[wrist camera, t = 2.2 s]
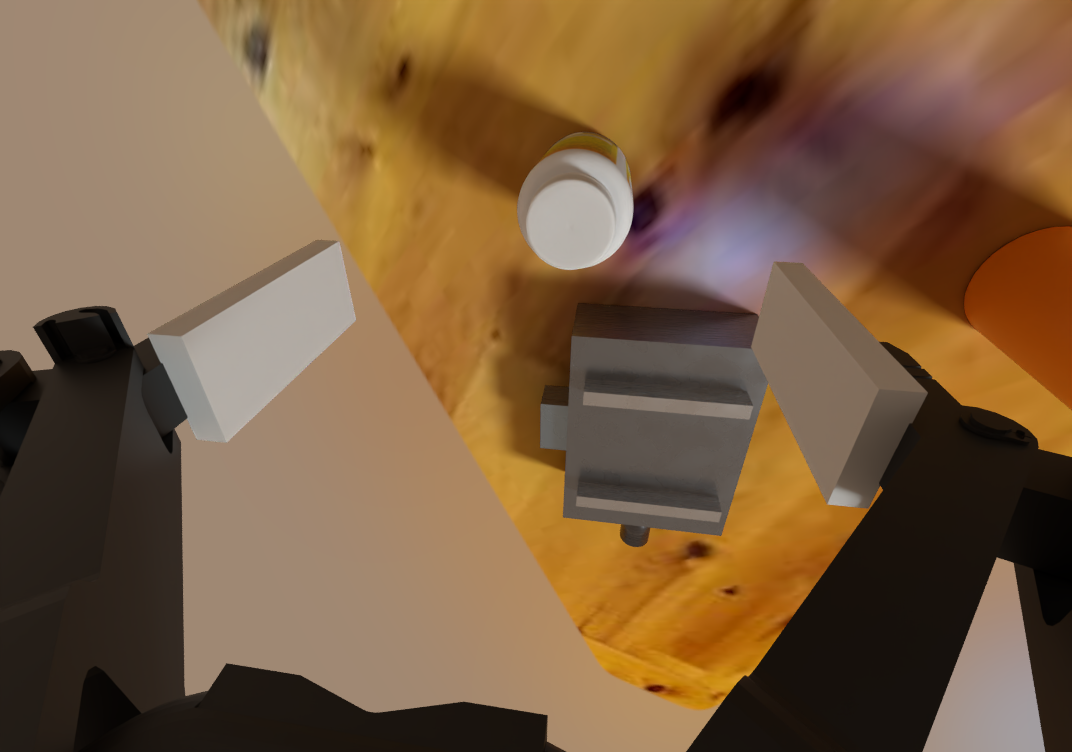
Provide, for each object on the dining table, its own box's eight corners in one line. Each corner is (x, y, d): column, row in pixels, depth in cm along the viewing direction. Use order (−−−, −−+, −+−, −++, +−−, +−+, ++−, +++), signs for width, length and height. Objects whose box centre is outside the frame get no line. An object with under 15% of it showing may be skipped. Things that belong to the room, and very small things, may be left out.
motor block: (549, 301, 34) (535, 345, 29) (757, 314, 32) (785, 363, 27) (545, 503, 45) (534, 562, 39) (702, 521, 43) (713, 586, 38)
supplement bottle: (521, 167, 30) (481, 206, 21) (600, 109, 28) (590, 126, 19) (570, 244, 32) (551, 308, 23) (647, 195, 30) (658, 246, 21)
